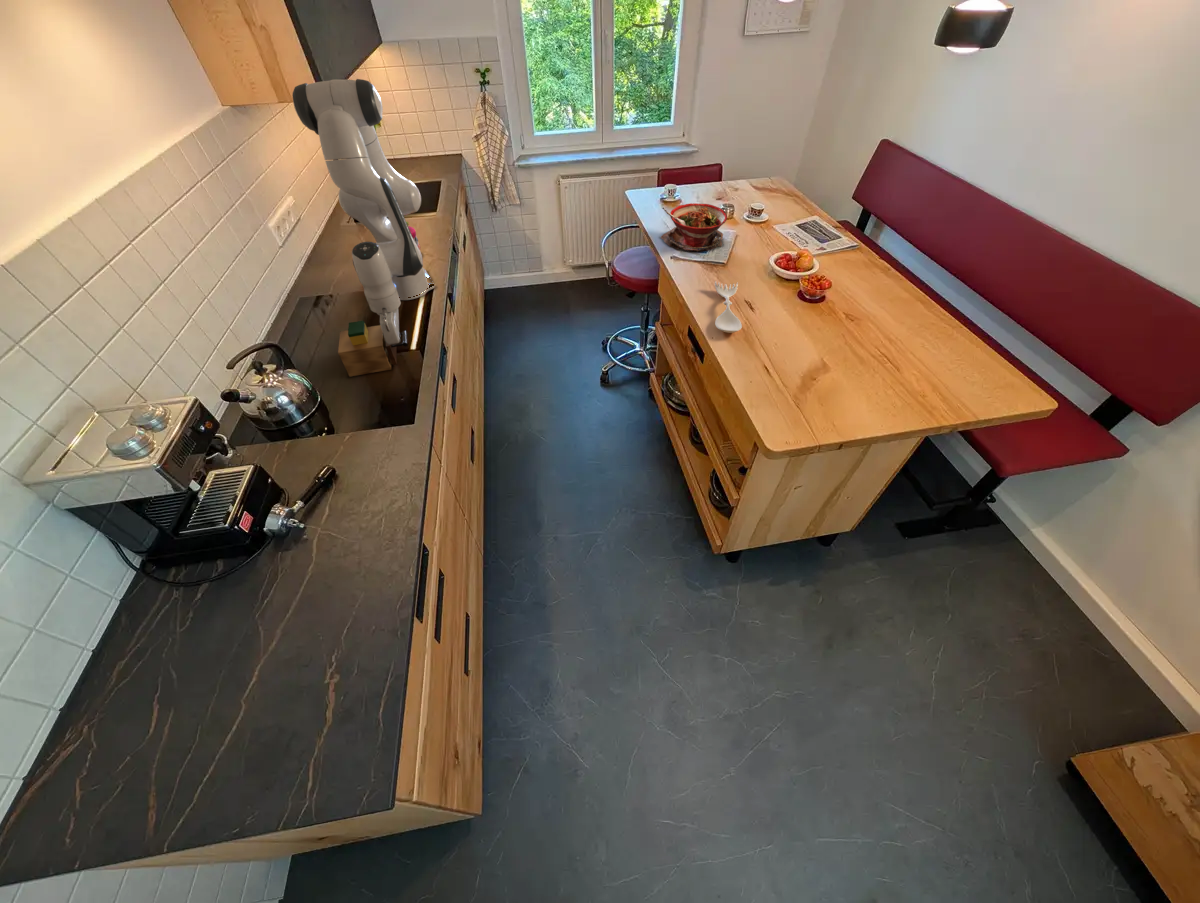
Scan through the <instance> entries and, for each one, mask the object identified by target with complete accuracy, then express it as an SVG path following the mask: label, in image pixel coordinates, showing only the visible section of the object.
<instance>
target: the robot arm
mask: <svg viewBox="0 0 1200 903" xmlns="http://www.w3.org/2000/svg"><path fill="white" fill-rule="evenodd" d="M292 104H293V107H294V111H295V113H296V115H297V117H298V118H299V120H300V122H301V123H302V125H304V126H305V127H306V128H307V129H308V130H310V131H312V132H314V133H315V134H316V135H317V136H318V138H319V143H320V148H321V151H322V155H323V159H324V162H325V165H326V169H327V170H328V171H327V172H328V174H329V176H330V178H331V180H332V182H333V184H334V185H335V186H336V187H337V188H338V189H339V190H338V195H337V196H338V197H337V198H338V202H339V206H340V207H341V209H342V210H343V212H344V213H345V214H346V215H347V216H349V217H351V218H353V219H354V220H356V221H358V222H359V223H360V224H362V225H363V226H364V227H365V228H366V229H367V230H368V231H369V232H370V233H371V235H372V236H373V238H374V240H375V242H373V241H363V242H359V243H357V244H356V245H354V246H353V247H352V250H351V257H352V264H353V268H354V270H355V274H356V276H357V278H358V281H359V283H360V284H361V286H362V287H363V294H364V296H365V299H366V302H367V304H368V306H369V309H370V311H371V312H373V313H375V314H377V315H378V316H379V325H381V329H382V332H383V335H384V338H385V341H386V343H387V344H388V345H392V344H399V343H402V342H401V340H402V339H401V335H400V333H401V332H400V314H399V310H400V309H399V308H400V306H401V304H402V302H401V301H410V300H414V299H418V298H421V297H423V296H424V295H426V294H427V293H428V292H429V291H431V290H433V289H434V288H435V285H434V286H432V287H430V288H429V285H430V284H432V283H428V282H427V278H429V277H430V276H429V273H428V271H427V270H426V269H425V268H424V259H423V254H422V251H421V249H420V250H419V248H418V246H417V244H416V243H415V241H414V239H413V236H412V234H411V232H410V230H409V227H408V225H407V222H408V221H406V218H405V216H407V215H411V214H414V213H417V212H418V211H419V210H420V207H421V205H422V196H421V193H420V190H419V188H418V187H417V185H416V184H415V182H413V181H412V180H411V179H408V178H406V177H404V176H403V175H402V174H400V173H399V172H398V171H397V170H395V169H394V168H393V166H392V165H391V164H390V163H389V161H388V159H387V157H386V154H385V152H384V150H383V148H382V146H381V142H380V139H379V136H378V134H377V131H376V129H375V126H377V125H378V124H380V123H381V121H382V120H383V112H384V111H383V110H384V109H383V107H384V106H383V102H382V99H381V96H380V94H379V92H378V91H377V89H376V87H375V85H374V84H373V83H371V82H370V81H369V80H366V79H361V78H356V79H345V78H344V79H342V78H341V79H340V78H338V79H337V78H336V79H335V78H334V79H330V80H324V81H323V80H322V81H317V82H312V83H307V82H305V83H301V84H298V85H296V86H294V88H293V91H292ZM420 251H421V252H420ZM426 277H427V278H426ZM428 284H429V285H428ZM427 288H428V289H427ZM426 289H427V290H426ZM425 290H426V291H425ZM424 291H425V292H424ZM422 292H423V293H422ZM421 293H422V294H421ZM419 294H420V295H419ZM416 295H418V296H416ZM413 296H415V297H413ZM399 297H400V298H399ZM408 297H411V298H408Z"/></svg>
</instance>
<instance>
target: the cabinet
mask: <svg viewBox="0 0 1200 903" xmlns="http://www.w3.org/2000/svg"><path fill="white" fill-rule="evenodd" d="M366 327H367V329H368V343H365V344H359V345H352V343H351V340H350V338H349V336H348V329H347V330H341V331H340V332H339V340H338V348H337V354H338V356H339V359H340V360H341V362H342V364H343V366H344V368H345V370H346V373H347V375H348V377H349V378H351V377H356V376H362V375H366V374H367V375H368V374H373V373H378V372H385V371H390V370H392V362H391V359H390V356H389V354H388V358H387V356H386V353H385V351H384V348H383V336H384V335H383V332H382V329H381V325H380V324H379V325H372V326H366Z"/></svg>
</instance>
